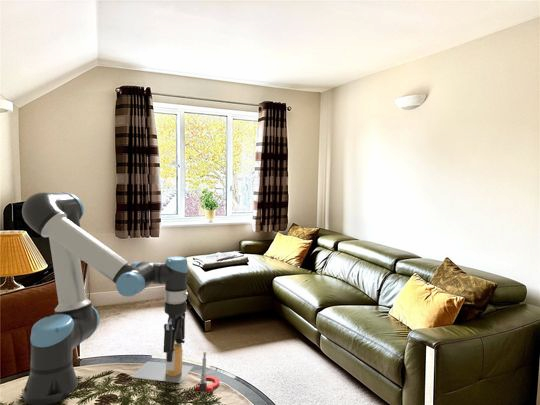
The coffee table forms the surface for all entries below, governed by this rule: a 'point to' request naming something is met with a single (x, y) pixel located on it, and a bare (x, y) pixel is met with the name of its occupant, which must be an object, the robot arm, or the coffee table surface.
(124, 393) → the coffee table surface
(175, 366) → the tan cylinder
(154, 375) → the board
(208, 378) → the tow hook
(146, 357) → the coffee table surface
